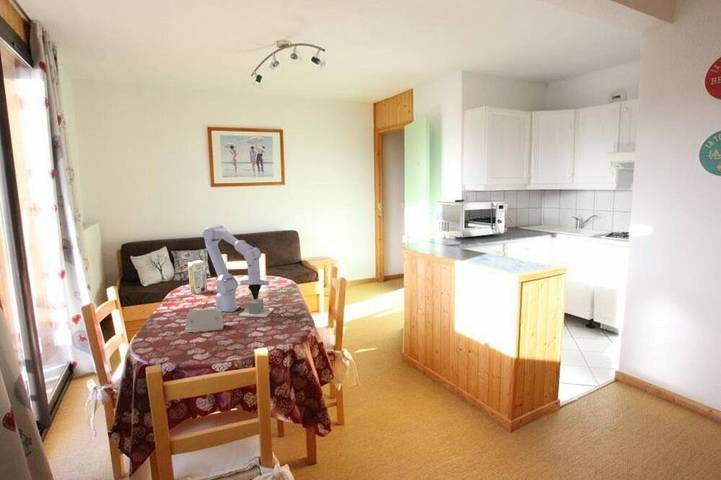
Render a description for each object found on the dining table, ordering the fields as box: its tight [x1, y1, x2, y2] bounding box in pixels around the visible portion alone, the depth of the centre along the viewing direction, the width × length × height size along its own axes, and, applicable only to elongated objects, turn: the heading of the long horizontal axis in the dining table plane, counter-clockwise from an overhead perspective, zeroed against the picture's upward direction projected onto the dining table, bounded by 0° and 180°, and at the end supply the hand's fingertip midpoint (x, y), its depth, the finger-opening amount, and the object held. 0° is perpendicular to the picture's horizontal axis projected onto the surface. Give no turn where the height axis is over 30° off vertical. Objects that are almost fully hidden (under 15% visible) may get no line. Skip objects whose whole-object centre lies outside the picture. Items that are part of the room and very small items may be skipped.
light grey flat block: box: [184, 308, 225, 334], centre depth 186 cm, size 17×5×10 cm, turn 104°
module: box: [247, 298, 265, 314], centre depth 205 cm, size 5×7×6 cm
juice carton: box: [187, 259, 208, 295], centre depth 244 cm, size 8×9×19 cm
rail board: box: [238, 307, 275, 318], centre depth 206 cm, size 14×11×2 cm
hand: (255, 298), depth 205 cm, fingers closed
